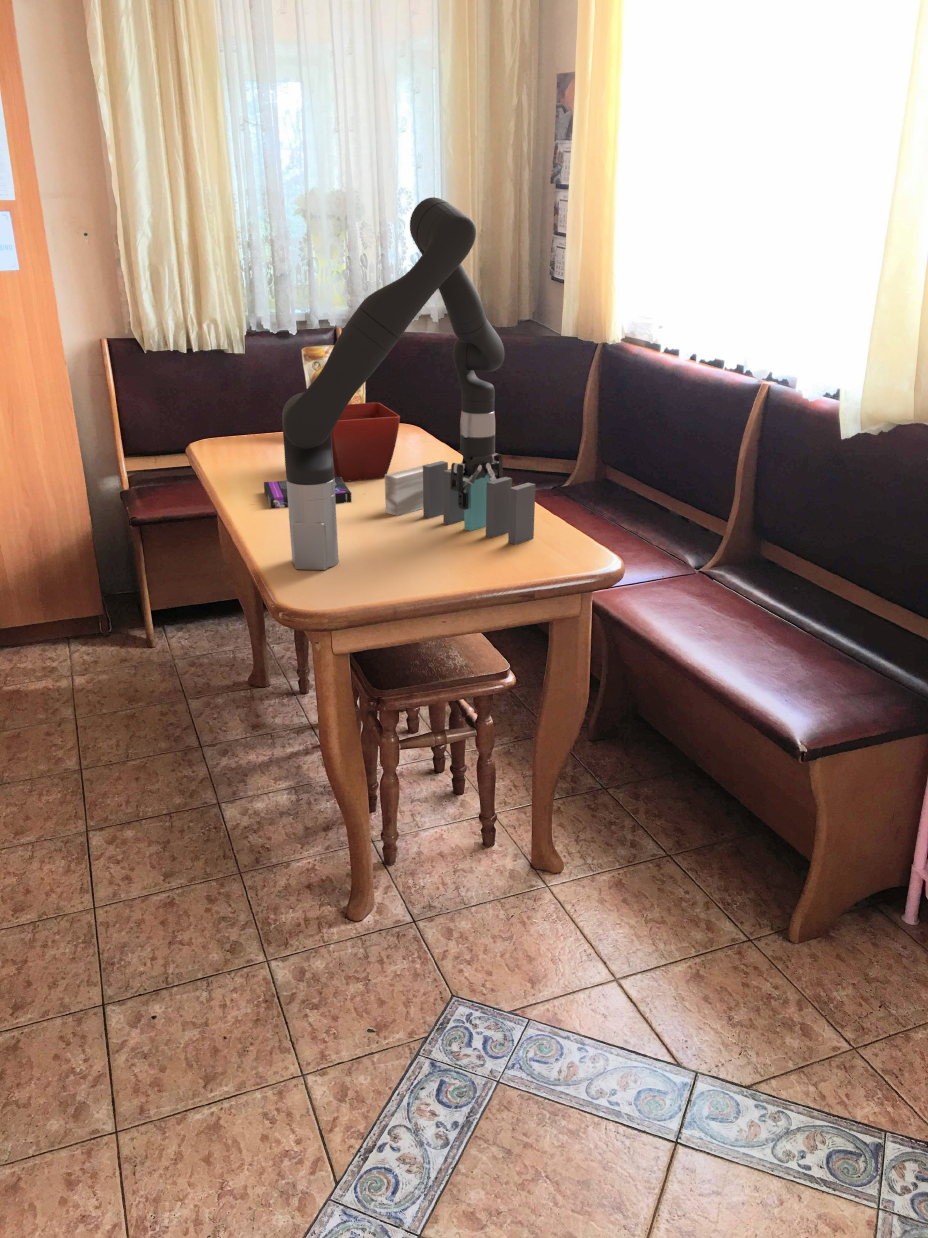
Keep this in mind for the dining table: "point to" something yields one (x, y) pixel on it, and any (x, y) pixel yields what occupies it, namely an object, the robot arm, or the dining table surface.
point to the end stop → (404, 491)
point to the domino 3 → (476, 504)
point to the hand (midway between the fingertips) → (476, 504)
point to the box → (279, 496)
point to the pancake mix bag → (314, 364)
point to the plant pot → (364, 441)
